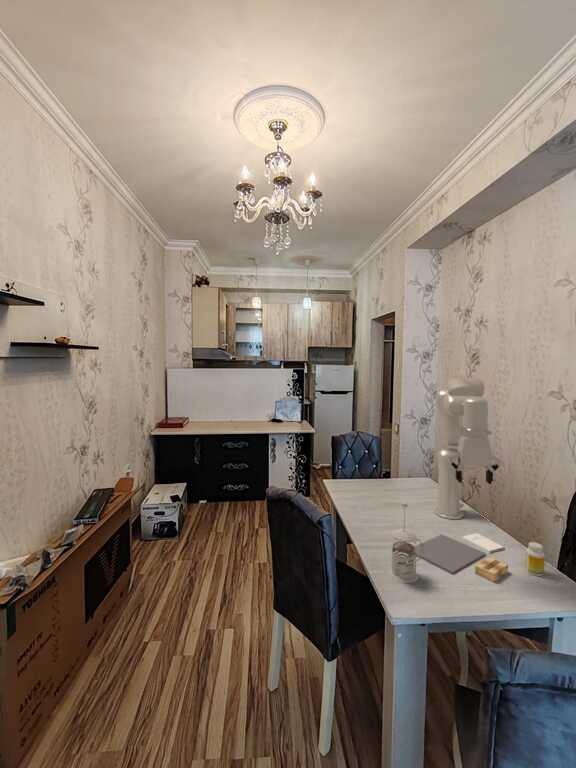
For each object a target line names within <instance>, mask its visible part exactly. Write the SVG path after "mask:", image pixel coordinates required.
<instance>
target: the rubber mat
mask: <svg viewBox="0 0 576 768" xmlns="http://www.w3.org/2000/svg"><path fill="white" fill-rule="evenodd" d="M421 543H422V544H423V546H424V554H423V546H422V551H421V545H422V544H420V543H419V544H417V545H414V547H415V550H414V555H415V552H416V557H417V556H418V555H419V554H420V555H419V556H418V557H417V558H418V559H420V558H421V556H422V554H423V556H422V560H423V559H424V561H425V562H427V563H429V564H431V565H433V566H435V567H437V568H439V569H440V570H443V571H445V572H447V573H449V574H451V575H454V574H456V573H457V572H459V571H461V570H463V569H465V568H466V567H467V566H469V565H471V564H473V563H474V562H476V561H478V560H480V559H481V558H483V557H485V556H487V555H486V554H487V552H485V551H484V552H483V550H482V551H481V550H479V549H477V548H475V547H472V546H470V545H468V544H466V543H463V542H460V541H458V540H456V539H454V538H451V537H449V536H446V535H445V534H443V533H442V534H439V535H437V536H434V537H432V538H430V539H428V540H426V541H424V542H421ZM420 551H421V553H420Z"/></svg>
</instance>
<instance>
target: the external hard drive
mask: <svg viewBox="0 0 576 768" xmlns="http://www.w3.org/2000/svg"><path fill="white" fill-rule="evenodd" d="M462 540H465V541H466V542H468V543H470V544H471V545H473V546H475V547H477V548H479V549H481V550H482V551H484V552H485V553H488V554H493V553H497V552H501V551H504V550H506V546H503V545H501V544H499V543H497V542H496V541H493V540H491V539H489V538H488V537H486V536H483V535H481V534H480V533H478V532H477V533H472V534H467V535H463V536H462Z"/></svg>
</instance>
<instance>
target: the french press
mask: <svg viewBox="0 0 576 768" xmlns="http://www.w3.org/2000/svg"><path fill="white" fill-rule="evenodd" d="M408 506H409V505H408V503H407V502H406V501H404V502H402V503H401V507H404V510H403V511H404V512H403V514H404V515H403V528H398V529H395V530H393V531H391V536H392V537H393V539H395V540H396V542H394V543H393V544H392V548H391V567H390V568H389V569H388V575H389V577H390V578H391V579H393V580H395V581H396V582H400V583H403V584H412V583H416V582H417V581H418V580H419V574H418V573H417V562H418V561H419V560H421V558H422V556H423V554H424V546H423V544H422V543H423V542H422V541H421V540H420V539H419V538H418V536H417V534H416V533H414V532H413V531H411V530H409V529H406V528H405V526H406V525H405V522H406V508H407V507H408ZM417 541H418V542H419V544H422V545H421V551H422V546H423V554H422V556H421V558H419V557H418V556H419V555H420V554H419V555H418V556H416V552H415V555H414V550H415V545H413V544H412V542H414V543H415V544H417ZM410 542H411V543H410ZM421 551H420V553H421ZM417 558H418V559H417Z"/></svg>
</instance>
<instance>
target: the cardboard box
mask: <svg viewBox="0 0 576 768" xmlns="http://www.w3.org/2000/svg"><path fill="white" fill-rule="evenodd" d="M508 569H509V564H508V563H506V562H504V561H501V560H499V559H496V558H494V557H492V556H488V557H487V558H485V559H484V560H482V561H481V562H479V563H477V564H475V567H474V574H475V575H477V576H479V577H481V578H483V579H486V581H489V582H492V583H495V582H497V581H498V580H499V579H500V578H502V577H504V576H505V575H506V574H507V573H508Z"/></svg>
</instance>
